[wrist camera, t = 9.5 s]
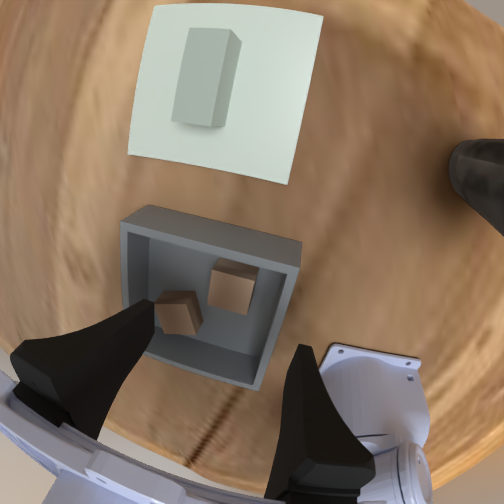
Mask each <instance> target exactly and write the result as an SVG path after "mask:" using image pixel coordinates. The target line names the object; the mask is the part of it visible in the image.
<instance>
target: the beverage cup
mask: <svg viewBox="0 0 504 504" xmlns="http://www.w3.org/2000/svg"><path fill="white" fill-rule="evenodd" d="M449 177H450V182H451V184H452V186H453V188H454V190H455V191H456V192H457V193H458V194H459V195H460V196H461V197H462V198H463V199H464V200H465V201H466V202H467V203H468V204H469V205H470V206H471V207H472V208H473V209H474V210H476V211H477V212H478V213H479V214H480V215H481V216H482V217H483V218H485V219H486V220H487V221H488V222H489V223H490V224H491V225H492V226H493V227H494V228H495V229H496V230H497V231H498V232H499V233H501V234H502V235H503V236H504V139H478V140H467V141H464V142H462V143H460V144H459V145H458V146H457V147H456V148H455V150H454V151H453V153H452V154H451V158H450V161H449Z"/></svg>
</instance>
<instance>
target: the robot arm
mask: <svg viewBox="0 0 504 504" xmlns="http://www.w3.org/2000/svg"><path fill="white" fill-rule="evenodd" d="M154 308H155V302H152V301H149V300H146V299H142V300H141V301H139V302H137V303H135V304H133V305H132V306H130V307H128V308H126V309H124V310H123V311H121V312H119V313H117V314H115V315H113V316H112V317H109V318H107V319H105V320H103V321H101V322H99V323H97V324H95V325H92V326H90V327H87V328H84V329H82V330H79V331H75V332H72V333H68V334H65V335H61V336H56V337H50V338H43V339H32V340H24V341H23V342H22V343H21V344H20V345H19V346H18V347H17V348H16V349H15V350H14V351H13V352H12V353H11V355H10V360H11V364H12V366H13V368H14V370H15V372H16V374H17V376H18V377H19V380H20V382H19V383H18V384H16V383H15V382H14V381H13V380H12V379H11V378H10V377H9V376H8V375H6V374H5V373H4V372H3V371H1V370H0V431H1V432H2V433H3V434H4V435H5V436H6V437H8V438H9V439H10V440H11V441H12V442H13V443H14V444H16V445H17V446H18V447H19V448H21V450H23V451H24V452H25V453H26V454H27V455H29V456H30V457H31V458H32V459H34V460H35V461H36V462H38V463H39V464H40V465H41V466H43V467H44V468H46V469H47V470H48V471H49V472H51V473H52V474H54V475H55V476H56V477H57V479H56V480H55V482H54V484H53V485H52V487H51V489H50V491H49V492H48V494H47V496H46V498H45V499H44V501H43V503H42V504H433V501H432V482H431V475H430V471H429V467H428V463H427V460H426V457H425V454H424V452H423V450H422V447H423V446H424V444H425V442H426V440H427V437H428V433H429V427H430V415H429V410H428V406H427V402H426V398H425V395H424V391H423V387H422V384H421V380H420V377H419V374H418V368H419V367H420V365H421V361H420V359H416V358H410V357H404V356H398V355H392V354H387V353H381V352H376V351H370V350H365V349H360V348H355V347H350V346H345V345H341V344H333V345H331V346H330V348H329V350H328V352H327V354H326V356H325V358H324V360H323V362H322V364H321V366H320V368H319V369H318V366H317V363H316V359H315V356H314V352H313V348H312V347H311V346H307V345H303V344H299V345H298V347H297V349H296V352H295V354H294V357H293V359H292V361H291V364H290V366H289V369H288V371H287V375H286V380H285V385H284V392H283V404H282V416H281V428H280V435H279V440H278V444H277V449H276V454H275V458H274V462H273V466H272V470H271V474H270V478H269V481H268V485H267V488H266V492H265V495H264V498H258V497H253V496H248V495H244V494H239V493H235V492H230V491H226V490H222V489H218V488H214V487H211V486H207V485H203V484H200V483H197V482H194V481H191V480H187V479H185V478H182V477H179V476H176V475H173V474H170V473H167V472H165V471H162V470H159V469H157V468H154V467H152V466H149V465H146V464H144V463H142V462H139V461H137V460H135V459H132V458H130V457H128V456H126V455H124V454H122V453H119V452H118V451H115V450H113V449H111V448H109V447H107V446H105V445H103V444H102V443H100V442H98V441H97V438H98V436H99V433H100V430H101V428H102V425H103V423H104V421H105V418H106V416H107V414H108V411H109V409H110V407H111V405H112V403H113V401H114V399H115V397H116V395H117V393H118V391H119V389H120V387H121V385H122V383H123V382H124V380H125V379H126V377H127V376H128V374H129V373H130V371H131V370H132V369H133V367H134V366H135V364H136V363H137V362H138V360H139V359H140V357H141V356H142V354H143V353H144V351H145V350H146V349H147V347H148V345H149V343H150V341H151V339H152V337H153V335H154V333H155V311H154ZM339 350H342V351H339ZM407 362H408V363H407Z"/></svg>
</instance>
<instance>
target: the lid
mask: <svg viewBox="0 0 504 504" xmlns="http://www.w3.org/2000/svg"><path fill="white" fill-rule="evenodd" d="M322 22H323V16H320V15H315V14H310V13H305V12H299V11H294V10H287V9H280V8H273V7H264V6H254V5H241V4H220V3H191V4H170V5H157V6H154V10H153V13H152V17H151V21H150V25H149V29H148V33H147V37H146V41H145V45H144V50H143V55H142V59H141V64H140V69H139V75H138V80H137V86H136V92H135V98H134V105H133V112H132V119H131V127H130V136H129V145H128V154H129V155H136V156H143V157H150V158H156V159H163V160H169V161H175V162H180V163H186V164H192V165H197V166H202V167H208V168H213V169H218V170H223V171H228V172H233V173H237V174H242V175H247V176H251V177H256V178H260V179H265V180H269V181H273V182H277V183H282V184H286V185H287V184H288V180H289V175H290V171H291V167H292V162H293V158H294V153H295V149H296V144H297V140H298V136H299V131H300V127H301V122H302V117H303V113H304V108H305V104H306V99H307V94H308V90H309V85H310V80H311V76H312V71H313V66H314V61H315V56H316V51H317V47H318V42H319V37H320V32H321V27H322Z"/></svg>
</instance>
